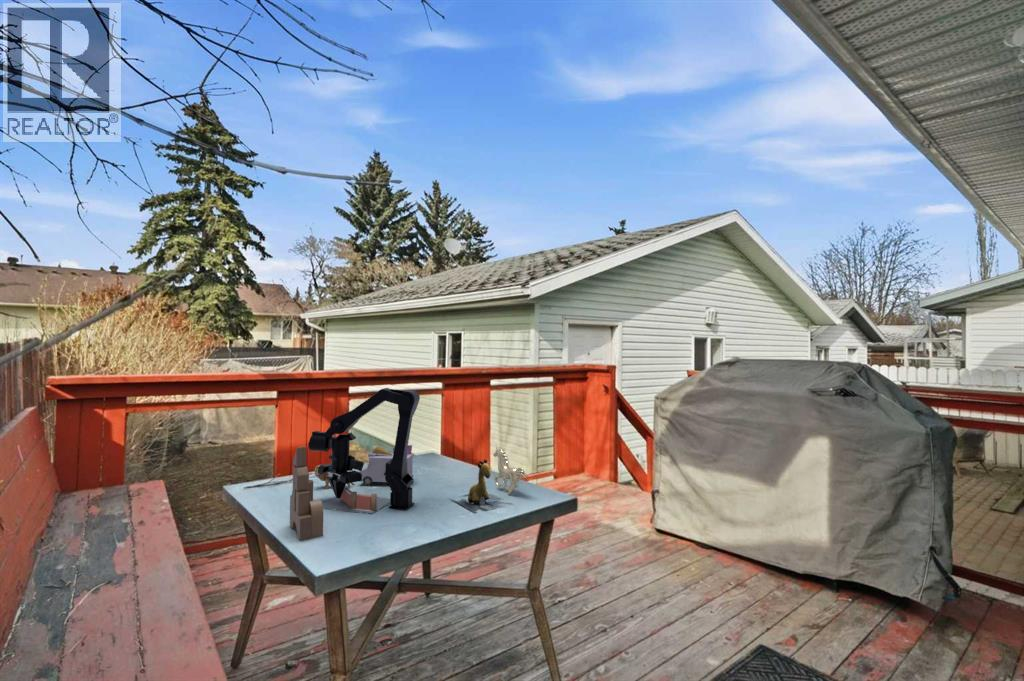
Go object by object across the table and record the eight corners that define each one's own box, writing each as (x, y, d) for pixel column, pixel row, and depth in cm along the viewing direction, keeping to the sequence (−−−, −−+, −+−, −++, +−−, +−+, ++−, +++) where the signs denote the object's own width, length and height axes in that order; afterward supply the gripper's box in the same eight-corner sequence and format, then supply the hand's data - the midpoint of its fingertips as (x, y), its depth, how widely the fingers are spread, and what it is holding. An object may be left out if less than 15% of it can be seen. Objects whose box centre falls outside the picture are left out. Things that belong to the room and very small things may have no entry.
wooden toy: (324, 536, 142) (325, 449, 142) (299, 541, 138) (300, 452, 138) (311, 519, 155) (312, 440, 154) (288, 523, 151) (289, 442, 151)
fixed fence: (377, 510, 163) (377, 493, 163) (374, 512, 161) (374, 495, 161) (352, 507, 165) (353, 491, 165) (349, 509, 164) (350, 492, 164)
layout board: (395, 499, 174) (395, 498, 174) (372, 514, 160) (372, 513, 160) (342, 494, 180) (342, 493, 180) (316, 507, 165) (316, 506, 165)
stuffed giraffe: (474, 513, 162) (475, 464, 162) (447, 500, 176) (449, 455, 177) (513, 506, 171) (514, 460, 172) (485, 494, 186) (486, 452, 186)
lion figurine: (313, 491, 183) (313, 467, 183) (315, 487, 188) (315, 463, 188) (354, 488, 187) (355, 464, 187) (355, 484, 192) (355, 461, 192)
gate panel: (354, 505, 166) (354, 493, 166) (350, 506, 165) (350, 493, 165) (343, 497, 173) (343, 485, 173) (339, 498, 173) (340, 486, 173)
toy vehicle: (365, 479, 198) (366, 442, 198) (413, 481, 198) (414, 443, 198) (357, 486, 189) (358, 447, 189) (408, 488, 188) (408, 448, 188)
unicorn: (529, 499, 177) (530, 451, 177) (521, 501, 175) (521, 453, 175) (497, 485, 193) (498, 441, 193) (489, 487, 191) (489, 443, 191)
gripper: (376, 453, 169) (374, 499, 169) (346, 445, 181) (344, 487, 181) (347, 458, 161) (345, 506, 160) (318, 449, 173) (315, 494, 172)
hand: (338, 498), depth 169 cm, fingers closed
